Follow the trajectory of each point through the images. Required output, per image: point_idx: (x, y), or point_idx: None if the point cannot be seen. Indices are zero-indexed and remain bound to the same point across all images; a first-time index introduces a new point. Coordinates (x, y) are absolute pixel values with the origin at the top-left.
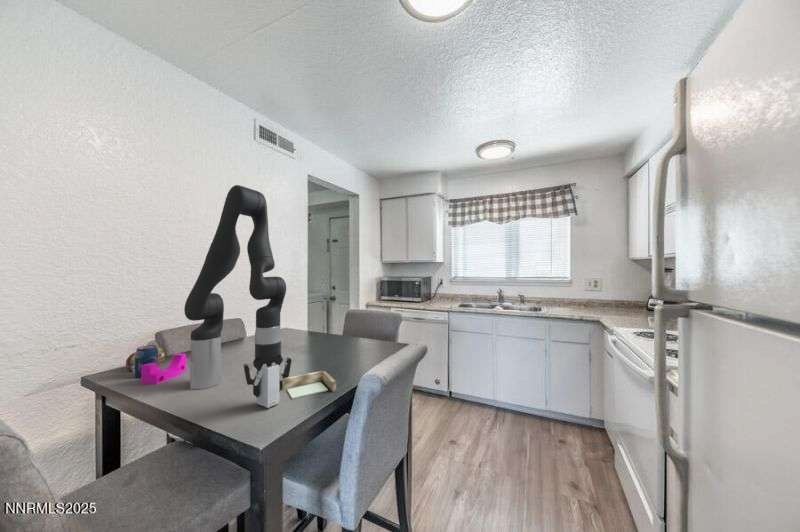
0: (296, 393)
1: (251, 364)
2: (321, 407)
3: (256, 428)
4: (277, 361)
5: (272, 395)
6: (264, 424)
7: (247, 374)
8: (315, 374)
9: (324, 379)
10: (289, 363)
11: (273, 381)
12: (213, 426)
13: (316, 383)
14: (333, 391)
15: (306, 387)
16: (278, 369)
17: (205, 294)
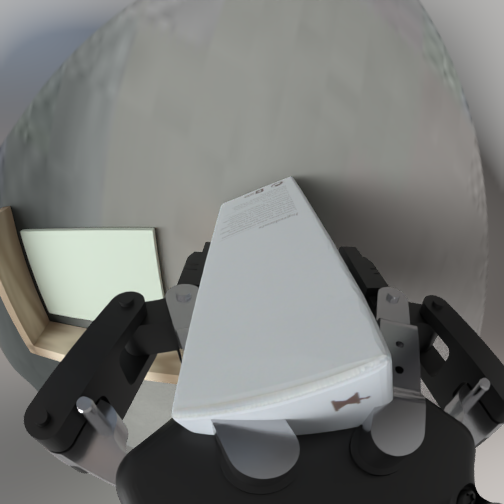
0: (130, 268)
1: (478, 436)
2: (59, 73)
3: (367, 29)
4: (191, 477)
5: (266, 204)
6: (332, 36)
7: (479, 351)
8: (55, 347)
9: (32, 309)
10: (56, 391)
11: (264, 257)
12: (474, 175)
13: (61, 310)
14: (7, 207)
15: (91, 300)
16: (191, 365)
17: None
